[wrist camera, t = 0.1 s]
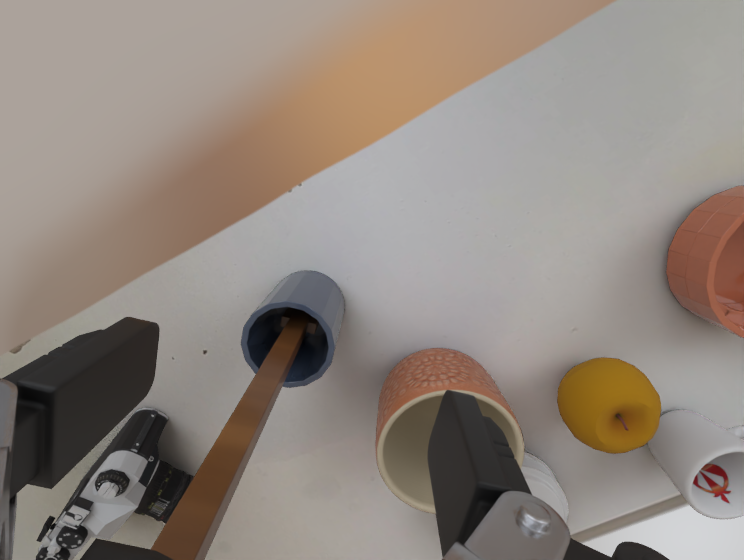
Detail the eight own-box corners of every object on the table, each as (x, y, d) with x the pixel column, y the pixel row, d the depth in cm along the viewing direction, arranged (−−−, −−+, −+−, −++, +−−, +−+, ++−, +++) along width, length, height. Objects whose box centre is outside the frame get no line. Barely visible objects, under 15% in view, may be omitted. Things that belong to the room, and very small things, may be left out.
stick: (293, 296, 42) (48, 661, 11) (324, 303, 42) (167, 684, 11) (290, 310, 42) (46, 702, 11) (321, 317, 42) (162, 723, 12)
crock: (279, 262, 42) (249, 291, 32) (351, 279, 42) (342, 313, 32) (267, 329, 44) (235, 376, 34) (336, 345, 44) (323, 395, 34)
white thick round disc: (578, 479, 48) (600, 514, 43) (508, 550, 50) (521, 591, 46) (490, 424, 46) (503, 455, 41) (423, 501, 49) (428, 538, 44)
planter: (499, 337, 43) (536, 393, 33) (484, 440, 46) (514, 520, 36) (379, 331, 43) (379, 384, 33) (373, 433, 47) (371, 512, 36)
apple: (580, 325, 43) (629, 365, 34) (641, 368, 44) (703, 417, 35) (525, 386, 45) (559, 438, 36) (585, 426, 46) (632, 486, 37)
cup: (730, 381, 44) (804, 426, 36) (742, 441, 46) (815, 497, 38) (628, 413, 45) (679, 464, 37) (644, 470, 47) (695, 530, 39)
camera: (154, 516, 52) (120, 603, 43) (68, 481, 48) (10, 569, 39) (221, 440, 49) (199, 517, 40) (134, 396, 45) (88, 470, 36)
